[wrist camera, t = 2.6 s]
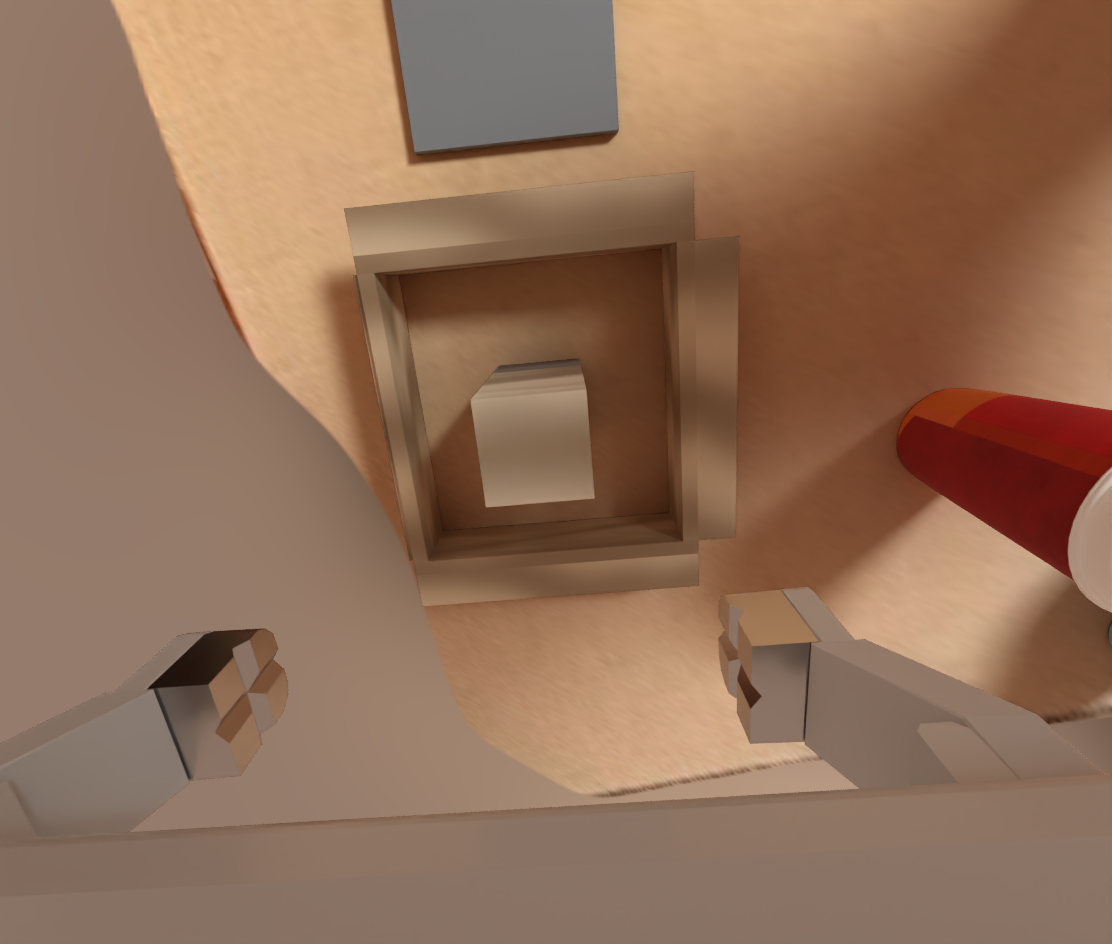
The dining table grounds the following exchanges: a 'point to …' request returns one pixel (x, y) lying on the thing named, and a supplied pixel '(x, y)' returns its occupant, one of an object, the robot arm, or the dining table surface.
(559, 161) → the dining table surface
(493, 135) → the rubber mat
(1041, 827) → the robot arm
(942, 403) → the paper cup
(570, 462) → the box
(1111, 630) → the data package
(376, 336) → the wooden frame
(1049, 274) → the dining table surface
